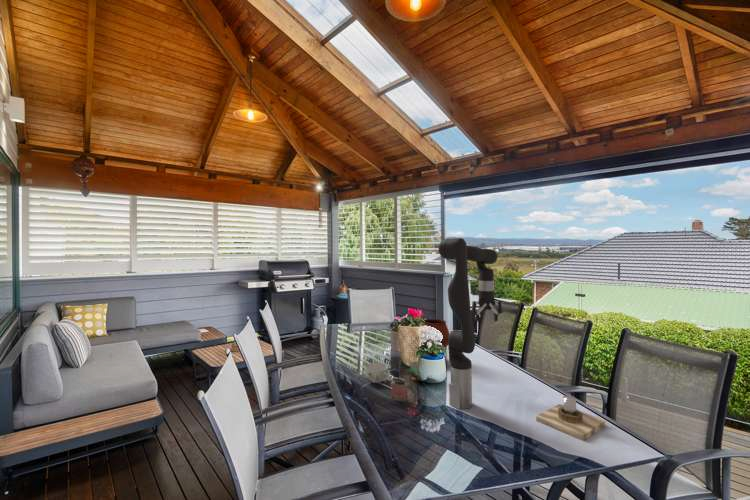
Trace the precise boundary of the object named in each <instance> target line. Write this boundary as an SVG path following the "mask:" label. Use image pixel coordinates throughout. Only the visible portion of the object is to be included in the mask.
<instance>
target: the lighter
mask: <svg viewBox="0 0 750 500" xmlns="http://www.w3.org/2000/svg"><path fill="white" fill-rule="evenodd" d="M391 380H392V381H391V382H390V386H391V396H390V398H391V399H392V400H394V401H398V402H407V401H408V400H409V398H408V383H407V382H406V379H405V378H402V377H394V376H393V377H392V379H391Z"/></svg>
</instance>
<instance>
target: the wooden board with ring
mask: <svg viewBox="0 0 750 500" xmlns="http://www.w3.org/2000/svg"><path fill="white" fill-rule="evenodd" d="M576 414H577V416H570V415H567V414H564V404H561V403H559V404H556V405H554V406H552V407H551V408H549V409H547V410H545V411H543V412H541V413H539V414H538V415H536V416H535V417H536V418H535V419H536V422H538V423H541V424H543V425H546V426H548V427H550V428H552V429H555V430H557V431H559V432H562V433H564V434H566V435H569V436H571V437H573V438H575V439H578V440H580V441H582V442H584V441H585V440H586V439H588V438H589V437H590V436H593V435H594V434H595V433H597V432H598V431H599V430H601V429H603V428H604V427H605V426H606V420H605V419H603V418H599V417H597V416H593V415H592V414H588V413H586V412H583V411H580V410H579V409H577V408H576Z"/></svg>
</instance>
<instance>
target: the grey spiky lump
mask: <svg viewBox="0 0 750 500" xmlns="http://www.w3.org/2000/svg"><path fill="white" fill-rule="evenodd" d="M364 370H365V374H366V376H367V378H368V379H369V380H370V381H371V382H372V383H374V384H381V383H382V382H383V381H387V380H388V372H389V365H388V364H387V363H386V362H385V363H384V362H377V361H376V362H371V363H368V364H366V365H365V366H364Z"/></svg>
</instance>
